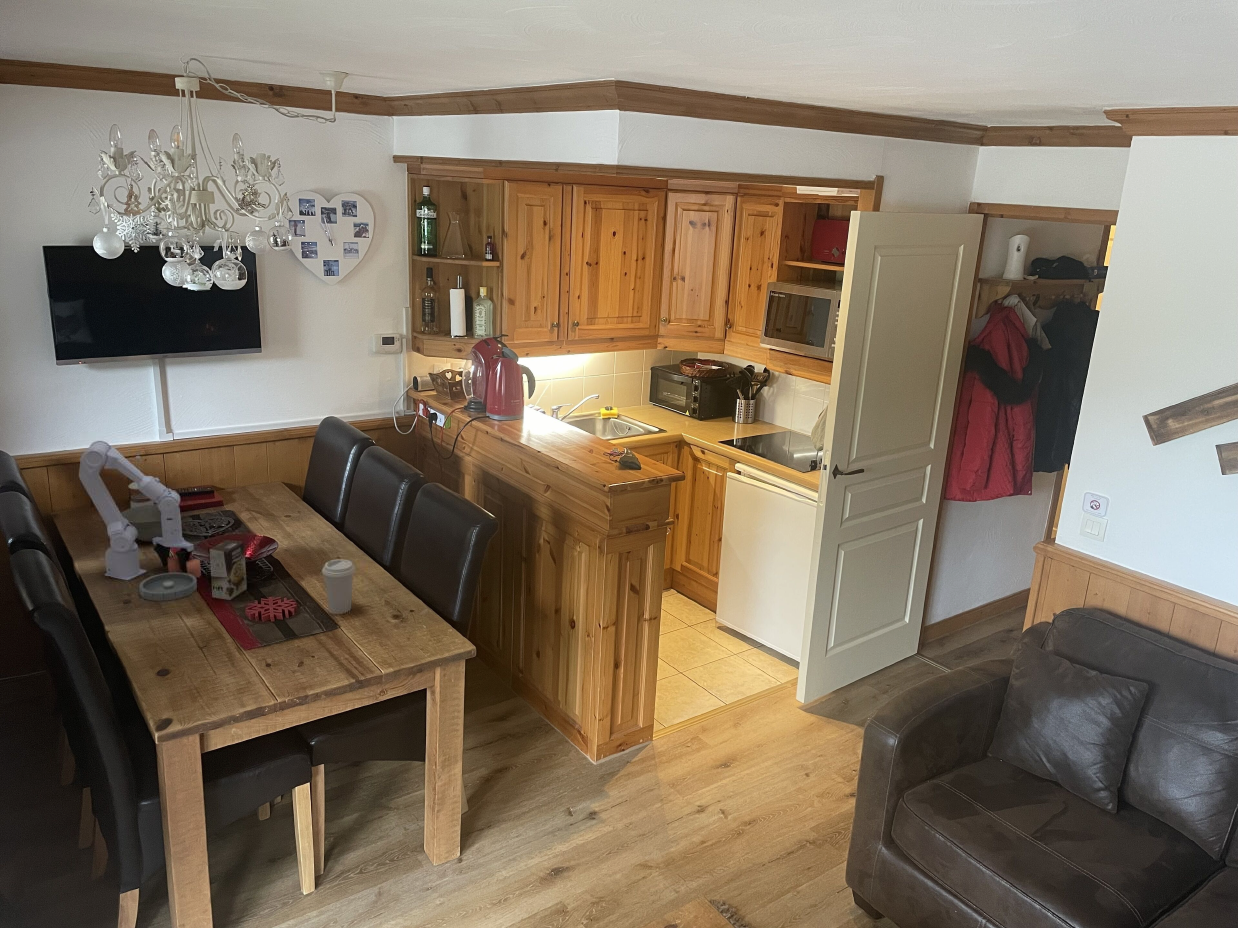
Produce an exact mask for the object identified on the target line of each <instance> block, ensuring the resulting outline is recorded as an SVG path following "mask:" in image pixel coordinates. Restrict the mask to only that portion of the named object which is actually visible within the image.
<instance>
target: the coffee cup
mask: <svg viewBox="0 0 1238 928" xmlns="http://www.w3.org/2000/svg"><path fill="white" fill-rule="evenodd" d="M355 571H356V568H355V566H354V564H353V562H352V561H351V560H348V559H337V558H336V559H332V560H329V561H327V562H325V564H324V566H323V568H322V569H321V572H322V574H323V576H324V577H323V578H324V585H325V591H326V601H327V608H328V612H329V613H330V614H333V615H344V614H343V613H345V614H347V613H349V612H350V611H351V610H352V597H353V582H354V572H355ZM348 611H349V612H348ZM346 612H347V613H346Z"/></svg>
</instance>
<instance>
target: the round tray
mask: <svg viewBox="0 0 1238 928" xmlns="http://www.w3.org/2000/svg"><path fill="white" fill-rule="evenodd" d="M197 581H198V580H197V578H196V577H195V576H193V575H191V574H187V572H181V573H176V572H173V573H169V572H166V573H159V574H156V575H152V576H150V577H147V578H145V579H144V580H142V581H141V582H140V583H139V584H138V586H139V594H140V597H141V598H143V599H145V600H147V601H153V602H167V601H174V600H175V601H176V600H178V599H182V598H185V597H189V596H190V595H192V594H193V593H195V592H196V591H197V588H198V586H197V585H198V582H197Z"/></svg>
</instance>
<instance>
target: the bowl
mask: <svg viewBox="0 0 1238 928" xmlns="http://www.w3.org/2000/svg"><path fill="white" fill-rule="evenodd" d="M158 505H159V504H158ZM158 505H157V504H154V505H145V506H139V507H134V508H131V507H130V508H128V509H127V508H126V510H124V511H122V512H120V513H121V515H122V516H123V517H124V518H125V519H127V520H128V522H129V523H130V524H131V525H132V526H134V527H135V528H136V530H137V532H138V535H137V538H136V539H137V540H140V541H141V542H147V543H151V542H152V543H153V538H156V537H162V538H163V536H162V524H161V511H160V510H159V508H158Z"/></svg>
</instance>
